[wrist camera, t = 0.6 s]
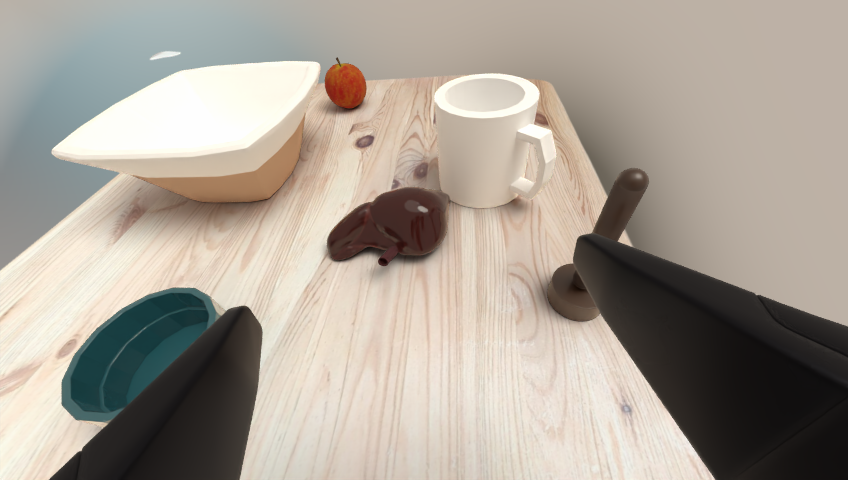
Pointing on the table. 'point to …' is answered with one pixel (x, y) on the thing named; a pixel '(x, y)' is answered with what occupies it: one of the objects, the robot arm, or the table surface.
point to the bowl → (205, 131)
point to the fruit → (345, 85)
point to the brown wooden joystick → (617, 211)
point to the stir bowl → (134, 351)
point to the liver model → (393, 225)
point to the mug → (490, 140)
